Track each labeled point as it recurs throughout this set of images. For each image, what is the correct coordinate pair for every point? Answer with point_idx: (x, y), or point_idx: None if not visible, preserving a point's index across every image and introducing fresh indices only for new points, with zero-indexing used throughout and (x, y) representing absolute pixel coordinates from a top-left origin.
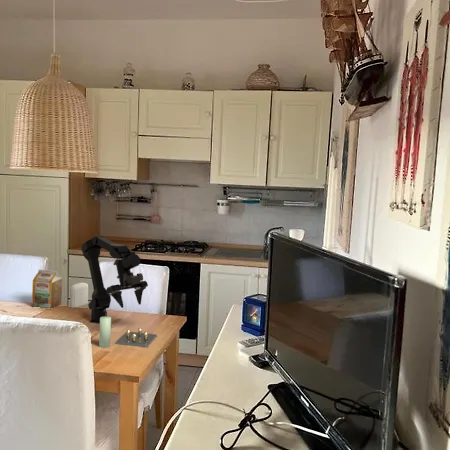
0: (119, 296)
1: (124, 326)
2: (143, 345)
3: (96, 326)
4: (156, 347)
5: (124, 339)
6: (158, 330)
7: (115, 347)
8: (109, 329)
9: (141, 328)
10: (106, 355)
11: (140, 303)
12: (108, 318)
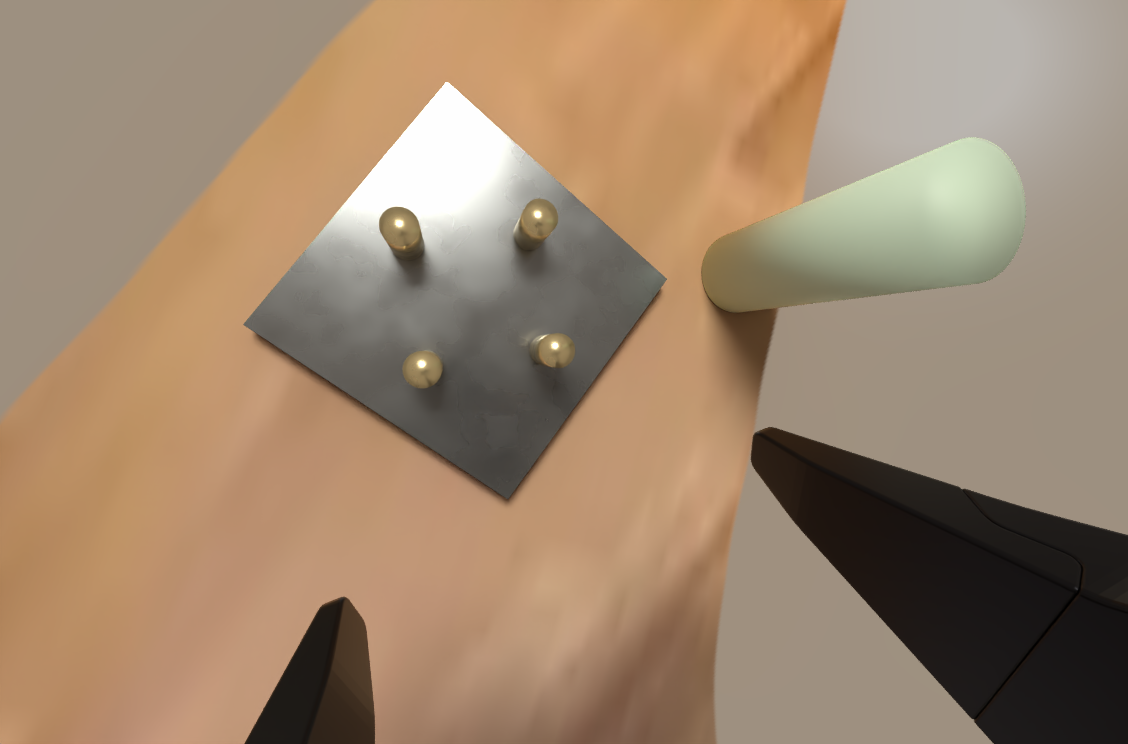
0: (1119, 546)
1: (471, 678)
2: (477, 112)
3: (682, 705)
4: (363, 57)
5: (590, 300)
6: (160, 504)
7: (678, 209)
8: (824, 196)
9: (406, 366)
10: (770, 89)
11: (328, 612)
12: (954, 174)
